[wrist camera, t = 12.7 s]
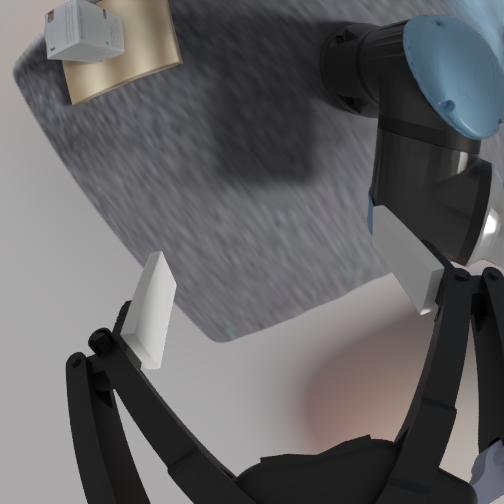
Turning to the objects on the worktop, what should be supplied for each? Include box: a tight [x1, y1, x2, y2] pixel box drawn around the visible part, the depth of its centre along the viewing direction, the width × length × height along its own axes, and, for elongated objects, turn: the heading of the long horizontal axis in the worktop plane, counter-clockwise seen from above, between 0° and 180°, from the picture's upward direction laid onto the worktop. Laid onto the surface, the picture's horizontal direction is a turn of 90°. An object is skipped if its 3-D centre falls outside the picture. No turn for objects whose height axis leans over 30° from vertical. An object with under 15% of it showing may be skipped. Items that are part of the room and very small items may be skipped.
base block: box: [62, 0, 183, 105], centre depth 26 cm, size 16×14×4 cm
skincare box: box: [45, 0, 125, 63], centre depth 20 cm, size 6×4×12 cm
